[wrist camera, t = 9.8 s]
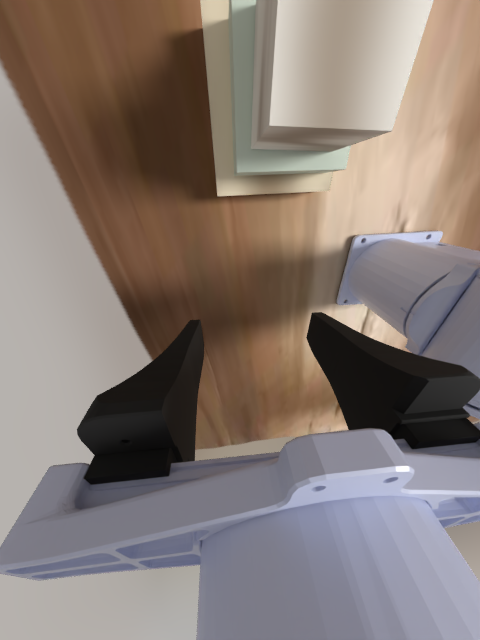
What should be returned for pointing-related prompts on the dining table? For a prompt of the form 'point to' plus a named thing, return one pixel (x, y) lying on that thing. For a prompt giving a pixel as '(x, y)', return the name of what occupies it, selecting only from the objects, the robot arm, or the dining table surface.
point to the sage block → (241, 101)
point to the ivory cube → (331, 70)
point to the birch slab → (221, 118)
